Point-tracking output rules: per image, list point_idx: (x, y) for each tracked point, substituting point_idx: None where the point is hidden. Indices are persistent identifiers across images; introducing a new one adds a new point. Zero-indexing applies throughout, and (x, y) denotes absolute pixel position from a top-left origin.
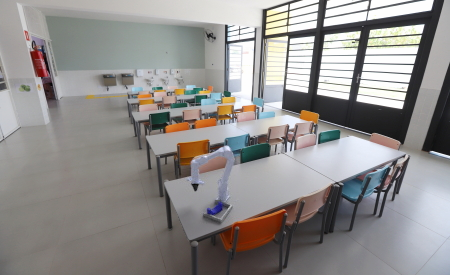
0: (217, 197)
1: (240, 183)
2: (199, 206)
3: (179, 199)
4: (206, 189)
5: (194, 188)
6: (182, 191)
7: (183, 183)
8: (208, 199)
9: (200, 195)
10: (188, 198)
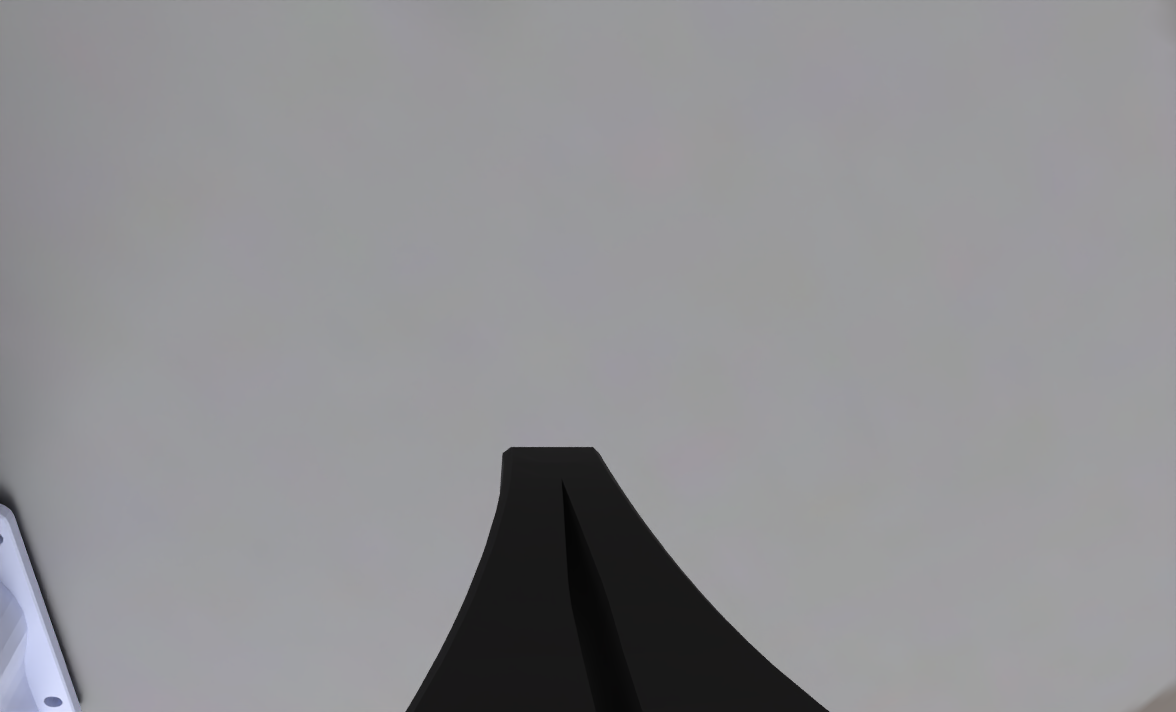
0: (25, 586)
1: None
2: (235, 31)
3: (1035, 91)
4: None
5: (592, 572)
6: (1038, 417)
7: (1084, 627)
8: (216, 436)
9: None
10: (782, 245)
